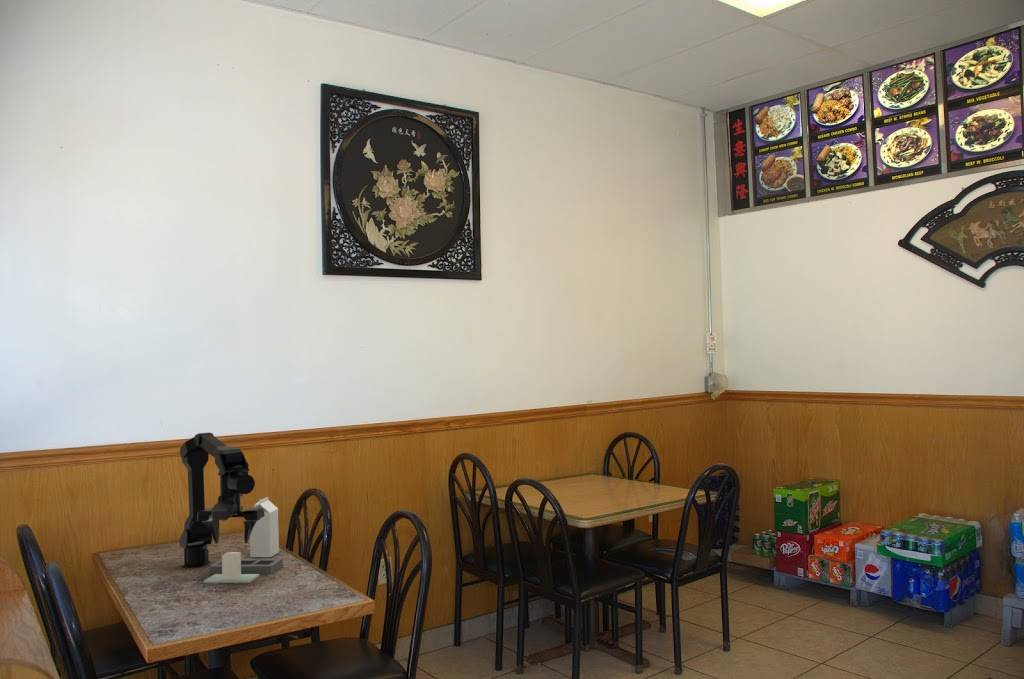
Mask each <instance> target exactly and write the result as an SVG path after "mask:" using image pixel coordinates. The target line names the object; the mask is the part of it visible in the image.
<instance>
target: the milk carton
mask: <svg viewBox="0 0 1024 679" xmlns="http://www.w3.org/2000/svg"><path fill="white" fill-rule="evenodd" d="M253 508H263V510H264V517H262V518H260V520H258V521H257V522H256V524H255V525H254V527H253V530H252V532H251V535H250V537H249V557H250V558H272V557H273V556H275V555H277V554H278V553H279V552H280V549H279V548H280V543H279V542H280V541H279V540H280V536H279V534H280V533H279V508H278V507H277V506H276V505H275V504H273V503H272V501H271V500H269V496H266V497H264V498H261V499H260V500H258V501H257V502H256V503H254V505H253Z"/></svg>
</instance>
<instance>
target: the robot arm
mask: <svg viewBox="0 0 1024 679" xmlns="http://www.w3.org/2000/svg"><path fill="white" fill-rule="evenodd" d="M179 455H180V458H181V463H182V464H183V465H184V467H185V468H186V470H187V486H188V487H187V488H188V489H187V490H188V516H187V518H186V520H185V522H184V524H183V531H182V533H181V535H180V538H179V539H178V543H179V547H180V548H181V549H183V552H184V553H183V558H184V560H183V563H184V564H181V568H201V567H203V566H204V565H206V564H208V563H211V562H210V561H211V560H209V548H208V545H212V541H214V543H215V544H218V543H219V541H220V540H219V538H220V521H227V520H229V518H243V519H245V520H244V521H243V525H244V536H243V537H244V543H245V544H247V543H248V542H249V541H250V535H251V532H252V530H253V527H254V525H255V524H256V522H257V521H258V520H260V518H262V517H264V510H263V508H255V507H250V508H247V509H245V510H243V509H244V507H243V505H242V501H241V500H242V498H241V497H243V495H248V494H250V493H251V492H252V491H253V490H254V489H255V487H256V486H255V485H256V482H255V479H254V477H253V476H252V475H250V474H249V471H250V469H249V462H248V460H247V459H246V456H245V453H244V452H243V450H241V448H239V447H237V446H229V445H226V444H225V443H224V442H223V441H221V440H220V439H219V438H217V437H216V436H214V433H213V432H210V431H209V432H200V433H197V434H195V435H194V436H193V437H192V438H190V439H188V440H186V441H185V442H184V443H183V444H182V445H181V446H180V448H179ZM210 456H212V457H213V458H214V464H215V465H216V467H217V469H218V470H219V471H218V472H217V475H218V476H219V483H220V484H219V485H220V486H219V487H220V488H219V490H220V494H219V495H218V497H217V503H215V504H214V505H213V507H212V508H211V507H210V508H209V507H208V508H206V506H205V505H206V502H205V501H206V499H205V473H204V472H205V470H204V468H206V465H207V463H208V461H209V457H210Z"/></svg>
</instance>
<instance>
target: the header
mask: <svg viewBox="0 0 1024 679" xmlns="http://www.w3.org/2000/svg"><path fill="white" fill-rule="evenodd" d="M283 561H284V559H283V558H241V574H259V575H272V574H274V573H276V572H277V571H279V568H280V569H282V566H284V562H283ZM214 574H222V558H221V559H220V560H218V561H216V562H215V563H212V564H211V565H209V566H208V575H214Z"/></svg>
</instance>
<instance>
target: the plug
mask: <svg viewBox="0 0 1024 679" xmlns="http://www.w3.org/2000/svg"><path fill="white" fill-rule="evenodd" d="M241 553H242V552H240V551H237V552H233V551H232V552H231V551H230V552H229V551H227V552H226V553H224V554H222V555H221V559H222V579H236V578H238V577H239V576H241V559H242V554H241Z"/></svg>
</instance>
